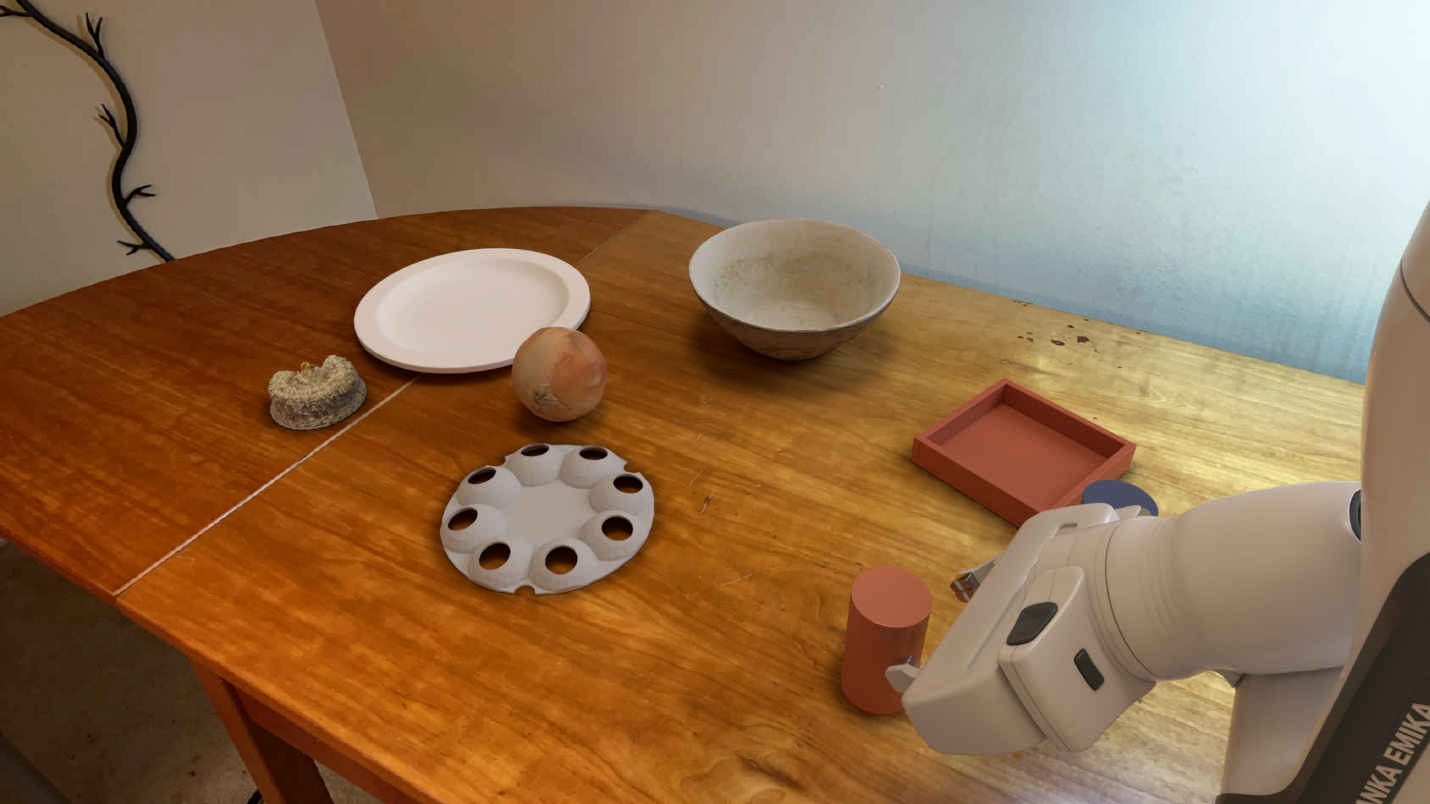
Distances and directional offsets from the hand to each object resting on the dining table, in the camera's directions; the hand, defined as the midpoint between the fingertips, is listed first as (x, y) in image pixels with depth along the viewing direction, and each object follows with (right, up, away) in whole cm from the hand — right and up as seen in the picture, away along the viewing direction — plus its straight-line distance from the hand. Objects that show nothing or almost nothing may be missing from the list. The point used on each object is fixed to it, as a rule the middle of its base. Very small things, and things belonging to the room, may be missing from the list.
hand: (928, 629), depth 62 cm
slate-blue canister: (+17, 0, +14) cm, 22 cm away
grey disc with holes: (-30, +5, +22) cm, 38 cm away
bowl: (-6, +23, +45) cm, 51 cm away
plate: (-44, +26, +49) cm, 71 cm away
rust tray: (+15, +9, +27) cm, 32 cm away
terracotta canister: (-2, -6, +7) cm, 9 cm away
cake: (-58, +16, +36) cm, 70 cm away
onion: (-31, +14, +34) cm, 48 cm away
